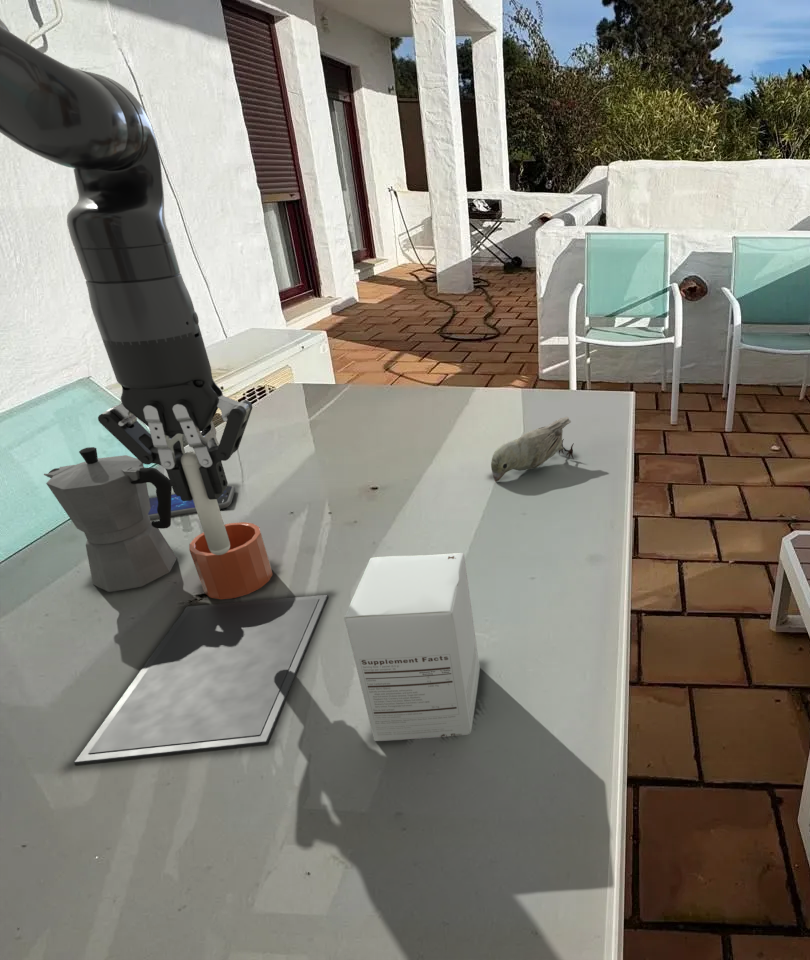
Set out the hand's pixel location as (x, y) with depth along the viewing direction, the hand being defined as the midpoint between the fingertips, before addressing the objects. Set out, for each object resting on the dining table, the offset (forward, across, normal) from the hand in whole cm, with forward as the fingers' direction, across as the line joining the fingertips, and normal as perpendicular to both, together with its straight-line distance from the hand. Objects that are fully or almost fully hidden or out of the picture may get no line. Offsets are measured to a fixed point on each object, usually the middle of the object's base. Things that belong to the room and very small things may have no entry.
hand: (204, 496), depth 65 cm
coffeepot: (+17, -17, +12) cm, 27 cm away
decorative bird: (+17, +34, +38) cm, 54 cm away
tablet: (+17, 0, -8) cm, 19 cm away
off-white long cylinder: (+7, 0, 0) cm, 7 cm away
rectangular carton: (+17, +22, -15) cm, 32 cm away
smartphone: (+17, -21, +32) cm, 41 cm away
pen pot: (+17, -4, +8) cm, 19 cm away
